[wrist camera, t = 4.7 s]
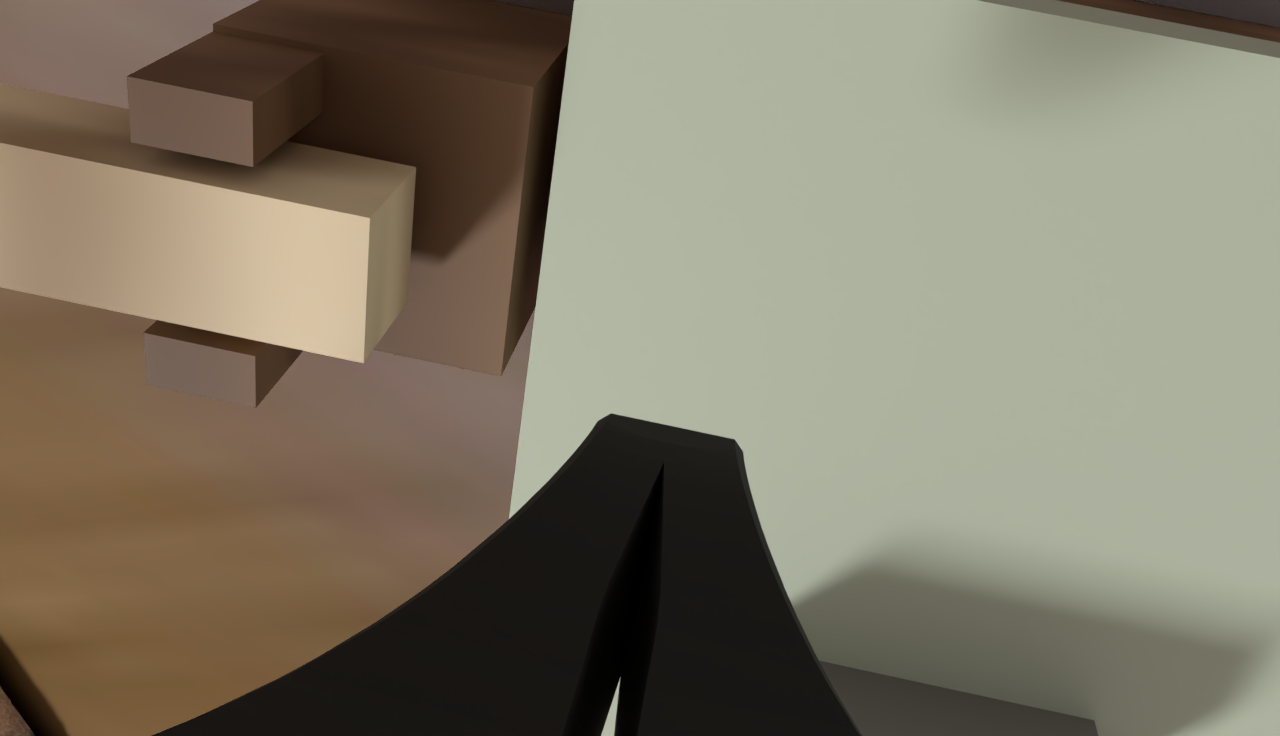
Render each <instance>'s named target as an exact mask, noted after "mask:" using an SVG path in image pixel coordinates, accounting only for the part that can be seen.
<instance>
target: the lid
mask: <svg viewBox="0 0 1280 736" xmlns="http://www.w3.org/2000/svg"><path fill="white" fill-rule="evenodd" d="M611 413H612V414H617V415H622V416H626V417H631V418H636V419H641V420H645V421H650V422H655V423H660V424H664V425H669V426H674V427H679V428H683V429H688V430H693V431H698V432H702V433H707V434H712V435H717V436H721V437H726V438H731V439H735V441H736V442H737V443H738V445H739V446H740V448H741V449H742V451H743V455H744V463H745V468H746V473H747V478H748V482H749V486H750V490H751V494H752V498H753V501H754V504H755V508H756V511H757V514H758V517H759V521H760V524H761V527H762V530H763V533H764V536H765V538H766V541H767V544H768V547H769V549H770V552H771V554H772V557H773V560H774V562H775V565H776V567H777V570H778V572H779V575H780V577H781V580H782V582H783V585H784V588H785V590H786V592H787V595H788V597H789V599H790V601H791V604H792V606H793V608H794V610H795V613H796V615H797V617H798V619H799V621H800V623H801V625H802V627H803V630H804V632H805V634H806V636H807V638H808V640H809V642H810V644H811V646H812V648H813V650H814V652H815V654H816V656H817V658H818V660H819V662H820V664H821V666H822V667H823V669H824V671H825V673H826V675H827V677H828V679H829V680H830V682H831V684H832V686H833V688H834V689H835V691H836V693H837V695H838V697H839V698H840V700H841V702H842V703H843V705H844V706H845V708H846V710H847V711H848V713H849V715H850V716H851V718H852V720H853V721H854V723H855V725H856V726H857V728H858V730H859V731H860V733H861V735H862V736H1280V43H1278V42H1273V41H1267V40H1262V39H1257V38H1252V37H1246V36H1241V35H1236V34H1231V33H1226V32H1220V31H1215V30H1210V29H1205V28H1199V27H1194V26H1189V25H1184V24H1178V23H1173V22H1168V21H1163V20H1157V19H1152V18H1147V17H1142V16H1136V15H1131V14H1126V13H1121V12H1115V11H1110V10H1105V9H1100V8H1094V7H1089V6H1084V5H1079V4H1073V3H1068V2H1063V1H1058V0H574V6H573V14H572V22H571V30H570V37H569V45H568V53H567V61H566V69H565V77H564V85H563V93H562V101H561V109H560V117H559V125H558V133H557V141H556V149H555V157H554V165H553V173H552V181H551V189H550V197H549V205H548V212H547V220H546V228H545V236H544V244H543V252H542V260H541V268H540V276H539V284H538V292H537V300H536V308H535V316H534V324H533V332H532V340H531V348H530V356H529V364H528V372H527V380H526V387H525V395H524V403H523V411H522V419H521V427H520V435H519V443H518V451H517V459H516V467H515V475H514V483H513V491H512V499H511V507H510V515H509V519H510V518H511V517H512V516H513V515H514V514H515V513H516V512H517V511H518V510H519V509H520V508H521V507H522V506H523V505H524V504H525V503H526V502H527V501H528V500H529V499H530V498H531V497H532V496H533V495H534V494H535V493H536V492H537V491H538V490H540V489H541V488H542V487H543V486H544V485H545V484H546V483H547V482H548V481H549V480H550V479H551V477H552V476H553V475H554V474H555V473H556V472H557V471H558V470H559V469H560V468H561V467H562V465H563V464H564V463H565V462H566V461H567V460H568V459H569V458H570V457H571V455H572V454H573V453H574V452H575V451H576V450H577V448H578V447H579V446H580V445H581V443H582V442H583V441H584V440H585V438H586V437H587V436H588V434H589V433H590V432H591V430H592V429H593V427H594V426H595V424H596V423H597V421H598V420H600V419H602V418H604V417H605V416H607V415H609V414H611ZM619 685H620V680H619V683H618V686H617V689H616V692H615V695H614V698H613V701H612V704H611V707H610V710H609V713H608V716H607V719H606V722H605V725H604V728H603V731H602V734H601V736H614V731H615V721H616V712H617V703H618V694H619Z"/></svg>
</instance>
